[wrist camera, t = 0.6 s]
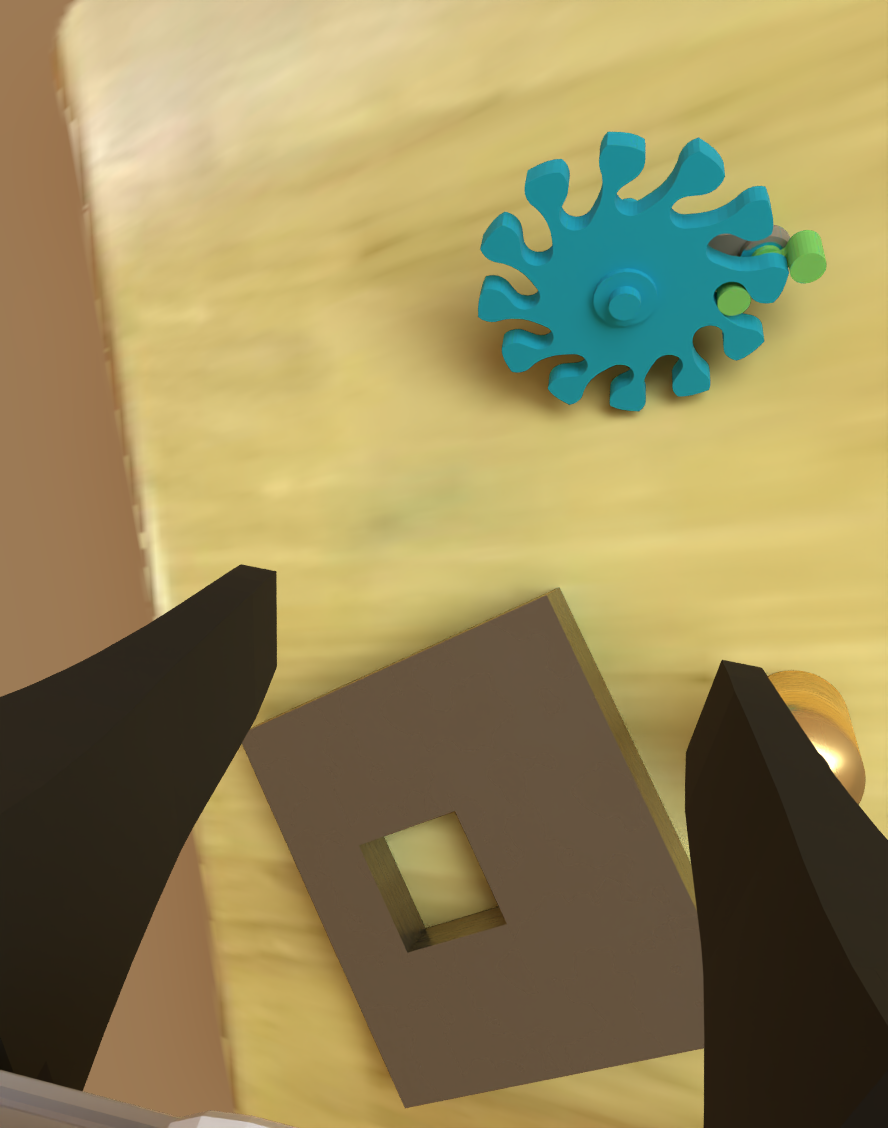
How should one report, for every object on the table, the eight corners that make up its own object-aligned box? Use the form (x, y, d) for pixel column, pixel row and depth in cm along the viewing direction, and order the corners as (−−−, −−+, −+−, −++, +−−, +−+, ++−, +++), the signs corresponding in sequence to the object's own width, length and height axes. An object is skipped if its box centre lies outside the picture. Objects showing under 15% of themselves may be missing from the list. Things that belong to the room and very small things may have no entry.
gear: (494, 427, 32) (447, 173, 25) (510, 332, 36) (473, 84, 28) (802, 416, 30) (857, 128, 22) (786, 314, 33) (828, 37, 25)
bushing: (866, 746, 30) (887, 812, 24) (769, 778, 31) (767, 847, 26) (822, 655, 30) (832, 700, 25) (727, 691, 32) (716, 740, 26)
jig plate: (758, 1004, 33) (756, 1037, 31) (422, 1077, 39) (405, 1108, 37) (559, 587, 34) (546, 595, 32) (263, 722, 40) (238, 735, 38)
